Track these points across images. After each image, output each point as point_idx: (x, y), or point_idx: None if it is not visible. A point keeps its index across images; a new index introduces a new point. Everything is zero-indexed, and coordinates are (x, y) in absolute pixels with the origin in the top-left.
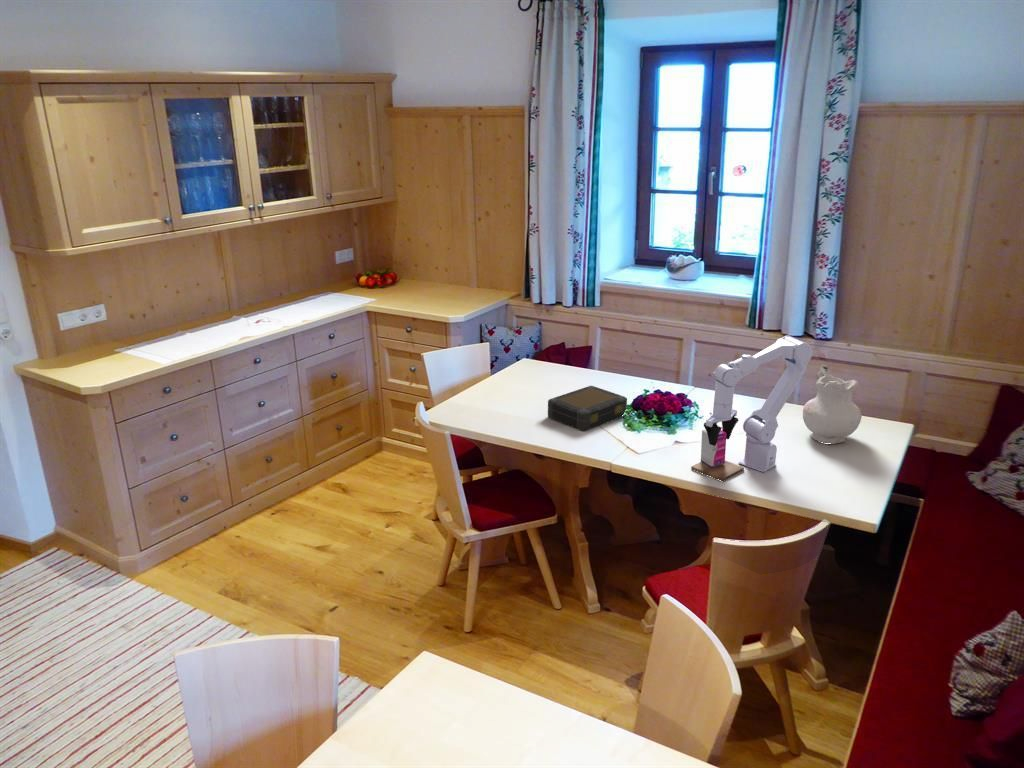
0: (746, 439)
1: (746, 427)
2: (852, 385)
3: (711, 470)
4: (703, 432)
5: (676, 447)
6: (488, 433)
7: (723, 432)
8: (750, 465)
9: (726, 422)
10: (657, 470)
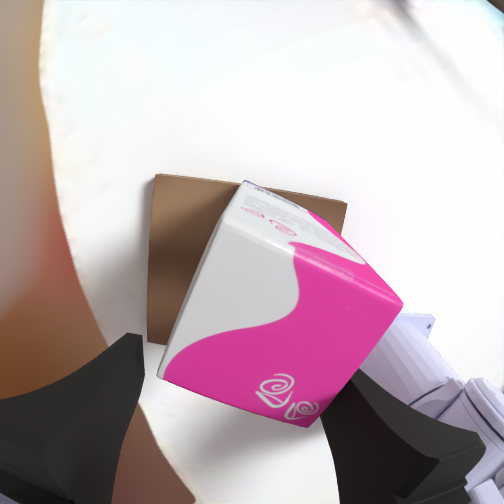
0: (419, 394)
1: (462, 427)
2: None
3: (181, 274)
4: (209, 241)
5: (349, 9)
6: None
7: (299, 414)
8: None
9: (371, 476)
10: (63, 73)
